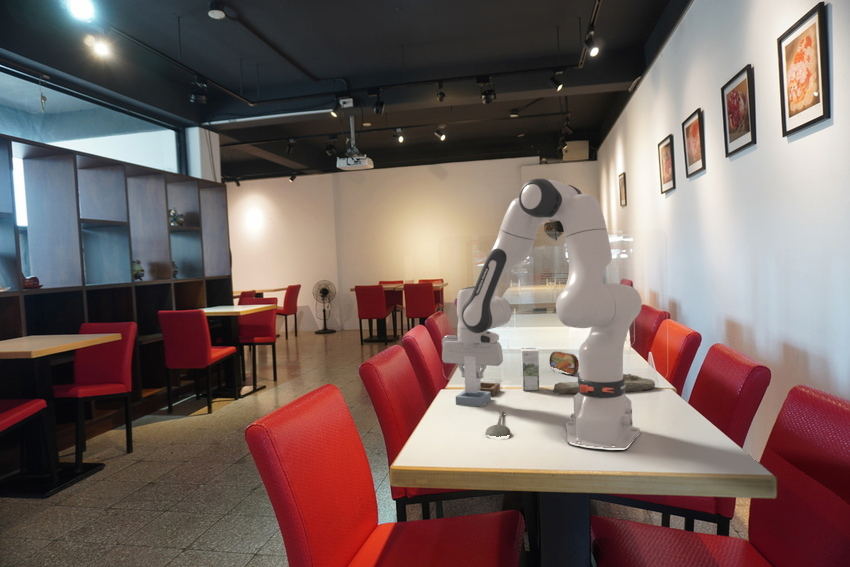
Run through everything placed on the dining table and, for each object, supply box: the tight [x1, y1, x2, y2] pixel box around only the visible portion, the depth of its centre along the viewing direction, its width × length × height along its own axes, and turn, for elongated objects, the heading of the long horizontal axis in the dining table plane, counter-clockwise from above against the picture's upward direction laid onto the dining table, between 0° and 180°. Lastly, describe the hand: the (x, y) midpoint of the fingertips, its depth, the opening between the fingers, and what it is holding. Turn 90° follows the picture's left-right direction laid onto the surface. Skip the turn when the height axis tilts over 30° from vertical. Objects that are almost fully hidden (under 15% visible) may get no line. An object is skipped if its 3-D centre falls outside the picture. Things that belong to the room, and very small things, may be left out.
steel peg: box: [463, 356, 482, 393], centre depth 171 cm, size 4×4×12 cm
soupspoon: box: [485, 410, 512, 437], centre depth 146 cm, size 22×3×7 cm
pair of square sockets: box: [455, 381, 501, 407], centre depth 176 cm, size 21×9×2 cm, turn 155°
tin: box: [549, 351, 579, 376], centre depth 207 cm, size 15×3×8 cm, turn 25°
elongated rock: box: [553, 373, 656, 395], centre depth 179 cm, size 35×5×10 cm
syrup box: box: [520, 347, 540, 392], centre depth 184 cm, size 6×6×14 cm
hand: (472, 377), depth 171 cm, fingers closed on steel peg, 4 cm apart
